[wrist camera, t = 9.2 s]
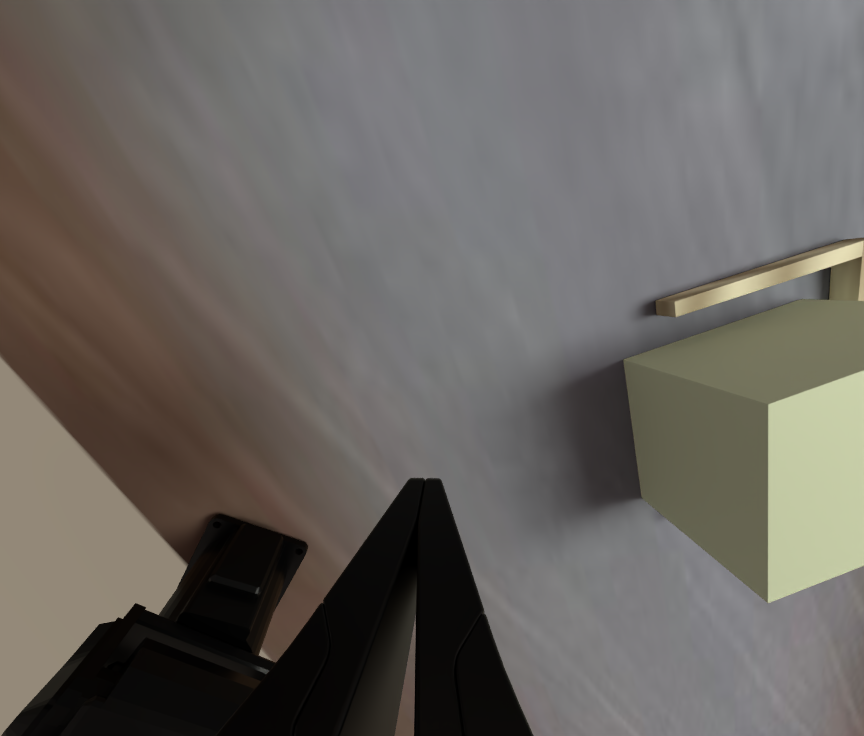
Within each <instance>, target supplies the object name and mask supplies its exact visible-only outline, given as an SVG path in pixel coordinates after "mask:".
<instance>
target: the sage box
mask: <svg viewBox="0 0 864 736" xmlns="http://www.w3.org/2000/svg"><path fill="white" fill-rule="evenodd" d="M623 362H624V369H625V377H626V384H627V392H628V399H629V407H630V414H631V422H632V430H633V437H634V445H635V452H636V460H637V467H638V475H639V482H640V490H641V497H642V499H643V500H645V501H646V502H647V503H648V504H649V505H651V506H652V507H653V508H654V509H655V510H657V511H658V512H659V513H660V514H661V515H663V516H664V517H665V518H666V519H667V520H669V521H670V522H671V523H672V524H673V525H675V526H676V527H677V528H678V529H679V530H681V531H682V532H683V533H684V534H685V535H687V536H688V537H689V538H690V539H691V540H693V541H694V542H695V543H696V544H697V545H699V546H700V547H701V548H702V549H703V550H705V551H706V552H707V553H708V554H709V555H711V556H712V557H713V558H714V559H715V560H717V561H718V562H719V563H720V564H722V565H723V566H724V567H725V568H726V569H728V570H729V571H730V572H731V573H732V574H734V575H735V576H736V577H737V578H738V579H740V580H741V581H742V582H743V583H744V584H746V585H747V586H748V587H749V588H750V589H752V590H753V591H754V592H755V593H756V594H758V595H759V596H760V597H761V598H762V599H764V600H765V601H766V602H767V603H770V602H772V601H775V600H777V599H780V598H782V597H785V596H787V595H790V594H793V593H795V592H798V591H800V590H803V589H805V588H808V587H810V586H813V585H816V584H818V583H821V582H823V581H826V580H828V579H831V578H833V577H836V576H838V575H841V574H844V573H846V572H849V571H851V570H854V569H856V568H859V567H861V566H864V301H848V300H814V299H800V300H797V301H794V302H791V303H788V304H785V305H782V306H780V307H777V308H774V309H771V310H768V311H765V312H762V313H759V314H756V315H753V316H750V317H747V318H744V319H741V320H738V321H735V322H732V323H729V324H726V325H724V326H721V327H718V328H715V329H712V330H709V331H706V332H703V333H700V334H697V335H694V336H691V337H688V338H685V339H682V340H679V341H676V342H673V343H671V344H668V345H665V346H662V347H659V348H656V349H653V350H650V351H647V352H644V353H641V354H638V355H635V356H632V357H629V358H626V359H623Z"/></svg>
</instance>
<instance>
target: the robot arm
mask: <svg viewBox="0 0 864 736" xmlns="http://www.w3.org/2000/svg"><path fill="white" fill-rule="evenodd" d="M217 522H220V523H221V524H218V523H217ZM298 549H302V550H298ZM307 549H308V545H307V544H306V543H305V542H303V541H300V540H297V539H294V538H291V537H288V536H285V535H282V534H279V533H276V532H273V531H270V530H267V529H264V528H262V527H259V526H256V525H253V524H250V523H247V522H244V521H241V520H238V519H235V518H232V517H229V516H226V515H223V514H217V515H215V516H214V517H213V518H212V519H211V521H210V522H209V524H208V526H207V528H206V530H205V532H204V534H203V536H202V538H201V540H200V542H199V544H198V546H197V548H196V550H195V552H194V554H193V556H192V558H191V561H190V563H189V565H188V567H187V569H186V571H185V573H184V575H183V577H182V579H181V581H180V583H179V585H178V587H177V589H176V591H175V592H174V594H173V595H172V597H171V598H170V599H169V601H168V602H167V604H166V605H165V607H164V608H163V610H162V611H161V612H160V614H159V615H157V614H154V613H152V612H149V611H147V610H145V608H146V607H144V606H141V605H139V604H136V603H135V604H134V606H133V607H132V608H131V610H130V611H129V612H128V613H127V615H126V616H125V617H124V618H123V619H121V618H117V619H116V621H114V622H109V623H103V624H99V625H98V626H97V628H96V629H95V630H94V631H93V632H92V633H91V634H90V636H89V637H88V638H87V639H86V640H85V642H84V643H83V644H82V645H81V646H80V647H79V649H78V650H77V651H76V652H75V653H74V655H73V656H72V657H71V658H70V659H69V660H68V661H67V662H66V664H65V665H64V666H63V667H62V668H61V669H60V670H59V671H58V672H57V673H56V674H55V676H54V677H53V678H52V679H51V680H50V681H49V682H48V683H47V685H45V687H44V688H43V689H42V690H41V691H40V692H39V693H38V694H37V695H36V696H35V697H34V699H32V701H31V702H30V703H29V704H28V705H27V706H26V707H25V708H24V709H23V710H22V711H21V713H20V714H19V715H18V716H17V717H16V718H15V720H14V721H13V722H12V723H11V724H10V725H9V727H8V728H7V729H6V730H5V731H4V733H3V734H2V735H1V736H394V735H395V729H396V723H397V718H398V712H399V706H400V701H401V695H402V689H403V684H404V678H405V672H406V666H407V661H408V655H409V649H410V644H411V638H412V632H413V627H414V621H415V615H416V653H415V719H414V736H533V734H532V731H531V729H530V727H529V725H528V722H527V720H526V718H525V716H524V713H523V711H522V709H521V707H520V704H519V702H518V700H517V697H516V695H515V692H514V690H513V688H512V685H511V683H510V680H509V678H508V676H507V673H506V671H505V668H504V666H503V663H502V660H501V657H500V655H499V652H498V649H497V646H496V643H495V641H494V638H493V635H492V632H491V629H490V626H489V623H488V620H487V617H486V615H485V614H484V608H483V605H482V602H481V599H480V596H479V593H478V590H477V587H476V584H475V581H474V578H473V575H472V572H471V569H470V566H469V562H468V559H467V556H466V553H465V550H464V547H463V544H462V541H461V538H460V535H459V532H458V529H457V526H456V523H455V520H454V517H453V514H452V511H451V508H450V505H449V502H448V499H447V496H446V493H445V489H444V486H443V483H442V481H441V479H439V478H427V479H426V480H425V479H424V478H410V479H409V480H408V481H407V483H406V484H405V485H404V487H403V488H402V490H401V491H400V492H399V494H398V495H397V497H396V498H395V499H394V501H393V502H392V504H391V505H390V506H389V508H388V509H387V511H386V512H385V514H384V515H383V516H382V518H381V519H380V521H379V522H378V523H377V525H376V526H375V528H374V529H373V530H372V532H371V533H370V535H369V536H368V537H367V539H366V540H365V542H364V543H363V545H362V546H361V547H360V549H359V550H358V552H357V553H356V554H355V556H354V557H353V559H352V560H351V561H350V563H349V564H348V566H347V567H346V568H345V570H344V571H343V573H342V574H341V576H340V577H339V578H338V580H337V581H336V583H335V584H334V585H333V587H332V588H331V590H330V591H329V592H328V594H327V595H326V597H325V598H324V600H323V603H324V604H323V603H321V604H320V605H319V606H318V608H317V609H316V610H315V612H314V613H313V615H312V616H311V618H310V619H309V620H308V622H307V623H306V624H305V626H304V627H303V629H302V630H301V631H300V633H299V634H298V635H297V637H296V638H295V639H294V641H293V642H292V643H291V645H290V646H289V647H288V649H287V650H286V651H285V652H284V654H283V655H282V656H281V657H280V658H279V660H278V661H277V662H273V661H271V660H268V659H265V658H263V657H261V656H258V655H259V652H260V650H261V647H262V644H263V641H264V638H265V635H266V633H267V630H268V627H269V624H270V621H271V618H272V615H273V613H274V611H275V609H276V607H277V605H278V603H279V602H280V600H281V598H282V596H283V594H284V593H285V591H286V589H287V587H288V585H289V584H290V582H291V580H292V578H293V576H294V575H295V573H296V571H297V569H298V568H299V566H300V564H301V562H302V560H303V559H304V557H305V555H306V552H307Z"/></svg>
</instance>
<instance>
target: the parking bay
mask: <svg viewBox="0 0 864 736" xmlns="http://www.w3.org/2000/svg"><path fill="white" fill-rule="evenodd" d="M828 267H831V277H830V293H829V300H848V301H864V238H856V239H846V240H842V241H839V242H836V243H833V244H830V245H827V246H824V247H821V248H818V249H814V250H811V251H808V252H805V253H802V254H799V255H796V256H793V257H790V258H786V259H783V260H780V261H777V262H774V263H771V264H768V265H765V266H762V267H759V268H755V269H752V270H749V271H746V272H743V273H740V274H737V275H734V276H731V277H728V278H724V279H721V280H718V281H715V282H712V283H709V284H706V285H703V286H700V287H696V288H693V289H690V290H687V291H684V292H681V293H678V294H675V295H672V296H669V297H665V298H662V299H659V300H656V301H655V302H656V313H657V315H661V316H670V317H678V316H681V315H684V314H687V313H690V312H693V311H696V310H699V309H702V308H705V307H708V306H711V305H714V304H718V303H721V302H724V301H727V300H730V299H733V298H736V297H739V296H742V295H745V294H748V293H751V292H754V291H757V290H760V289H763V288H767V287H770V286H773V285H776V284H779V283H782V282H785V281H788V280H791V279H794V278H797V277H800V276H803V275H806V274H809V273H812V272H816V271H819V270H822V269H825V268H828Z"/></svg>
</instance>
